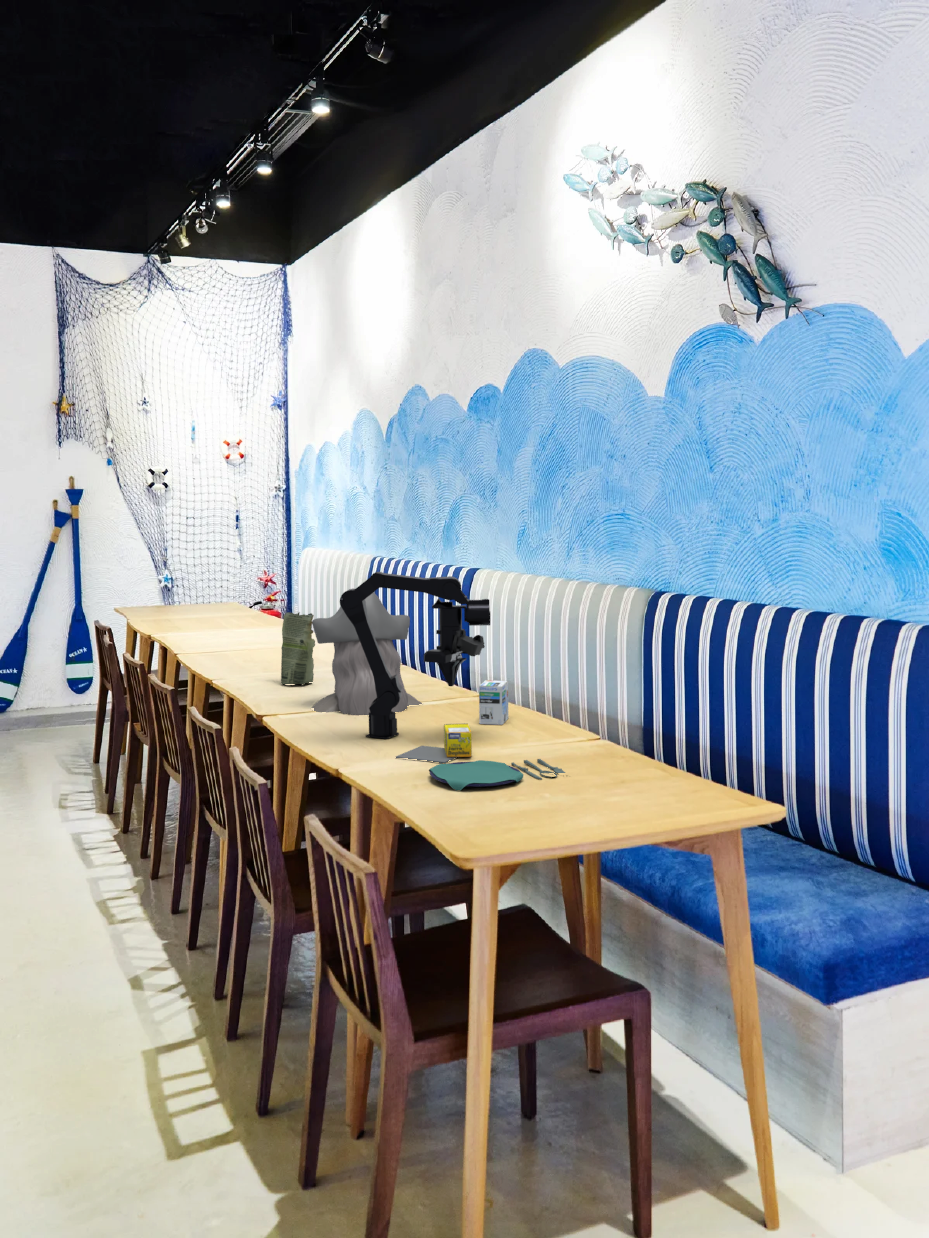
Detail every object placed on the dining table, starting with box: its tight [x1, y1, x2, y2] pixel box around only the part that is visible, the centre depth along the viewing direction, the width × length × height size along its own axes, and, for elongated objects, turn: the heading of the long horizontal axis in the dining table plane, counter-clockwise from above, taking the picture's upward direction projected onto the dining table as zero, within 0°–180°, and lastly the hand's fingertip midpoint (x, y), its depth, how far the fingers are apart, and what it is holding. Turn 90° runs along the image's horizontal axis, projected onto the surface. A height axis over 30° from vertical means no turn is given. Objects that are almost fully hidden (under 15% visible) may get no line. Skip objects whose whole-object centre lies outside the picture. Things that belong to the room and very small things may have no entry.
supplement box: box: [443, 722, 473, 758], centre depth 245 cm, size 6×6×11 cm
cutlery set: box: [428, 758, 566, 791], centre depth 224 cm, size 20×30×2 cm, turn 112°
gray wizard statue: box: [311, 592, 423, 716], centre depth 308 cm, size 34×34×35 cm
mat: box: [395, 745, 457, 764], centre depth 244 cm, size 13×13×1 cm
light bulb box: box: [478, 679, 509, 726], centre depth 284 cm, size 11×7×11 cm, turn 168°
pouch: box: [280, 611, 316, 685], centre depth 349 cm, size 11×12×25 cm
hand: (451, 686), depth 265 cm, fingers closed
